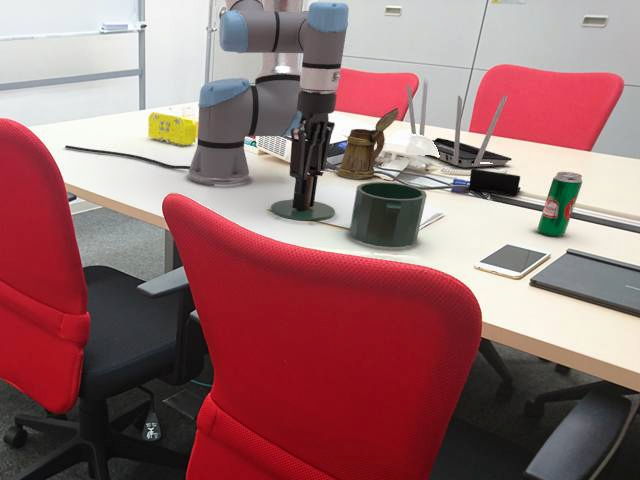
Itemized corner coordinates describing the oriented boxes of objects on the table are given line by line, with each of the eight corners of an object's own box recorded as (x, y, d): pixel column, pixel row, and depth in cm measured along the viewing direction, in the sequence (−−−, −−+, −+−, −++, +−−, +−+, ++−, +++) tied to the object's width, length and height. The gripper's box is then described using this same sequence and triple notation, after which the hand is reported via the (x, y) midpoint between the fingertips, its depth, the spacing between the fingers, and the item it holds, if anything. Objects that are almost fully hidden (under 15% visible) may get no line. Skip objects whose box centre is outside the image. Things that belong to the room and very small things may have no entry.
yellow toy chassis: (147, 139, 207) (147, 111, 203) (160, 137, 210) (160, 109, 206) (183, 147, 197) (183, 118, 193) (196, 145, 200) (197, 116, 196)
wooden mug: (372, 185, 163) (386, 109, 154) (330, 173, 173) (341, 101, 164) (394, 180, 168) (409, 106, 159) (352, 169, 177) (364, 99, 168)
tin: (349, 251, 122) (358, 201, 117) (348, 221, 137) (355, 176, 132) (420, 257, 120) (432, 206, 115) (410, 227, 135) (420, 181, 130)
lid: (268, 220, 137) (272, 181, 133) (273, 202, 149) (277, 166, 145) (334, 226, 135) (340, 186, 130) (334, 207, 146) (339, 170, 142)
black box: (521, 182, 162) (525, 154, 153) (518, 205, 159) (523, 178, 151) (470, 182, 167) (471, 155, 158) (467, 205, 164) (468, 179, 156)
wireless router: (525, 171, 179) (548, 93, 169) (455, 176, 173) (474, 95, 163) (446, 145, 207) (462, 77, 197) (383, 148, 201) (395, 78, 191)
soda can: (531, 229, 135) (549, 171, 129) (554, 229, 135) (573, 171, 129) (545, 237, 131) (565, 177, 125) (569, 237, 131) (590, 177, 125)
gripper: (313, 96, 122) (297, 218, 134) (354, 89, 132) (337, 203, 144) (279, 92, 126) (267, 210, 138) (322, 85, 136) (307, 196, 148)
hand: (302, 206), depth 141 cm, fingers closed on lid, 3 cm apart
